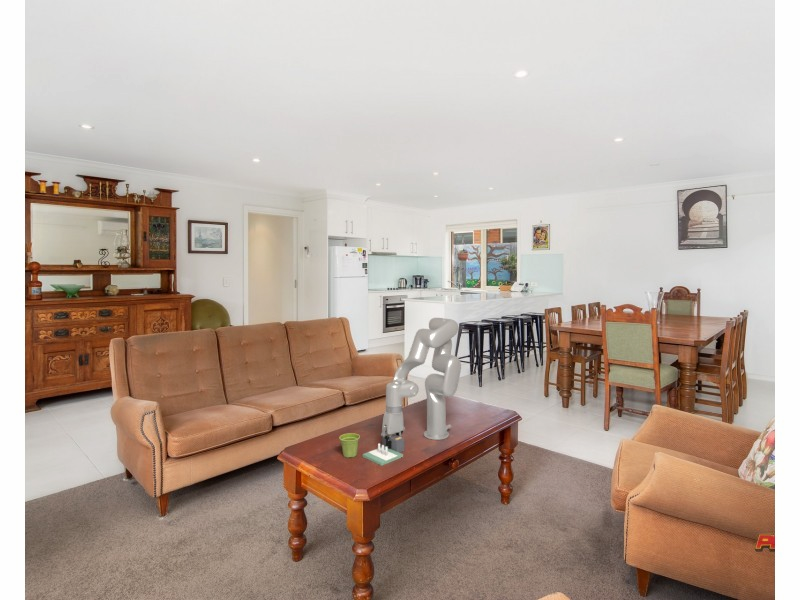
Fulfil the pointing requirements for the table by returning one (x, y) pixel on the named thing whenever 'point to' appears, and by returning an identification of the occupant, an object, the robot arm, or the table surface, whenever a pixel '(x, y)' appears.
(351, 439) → the plant pot
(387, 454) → the header board
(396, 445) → the block
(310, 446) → the table surface
